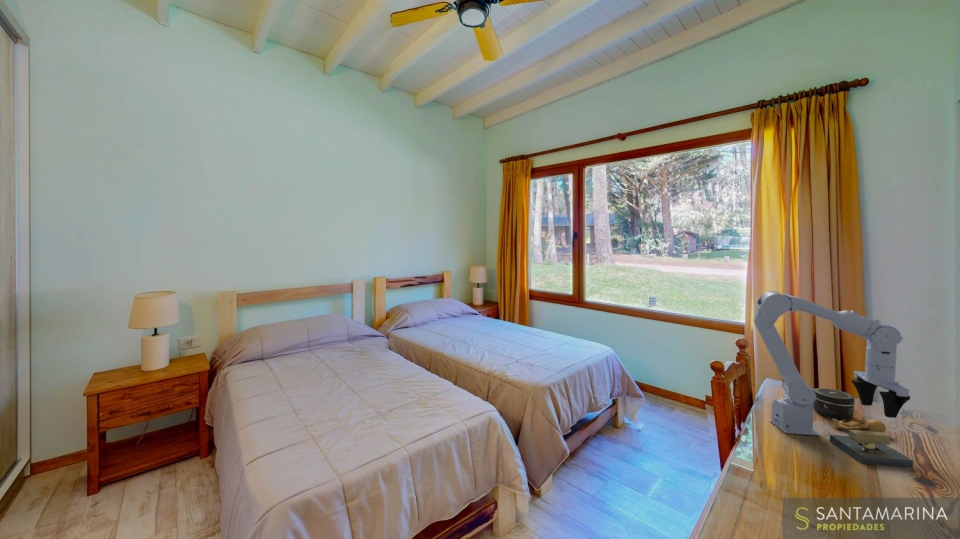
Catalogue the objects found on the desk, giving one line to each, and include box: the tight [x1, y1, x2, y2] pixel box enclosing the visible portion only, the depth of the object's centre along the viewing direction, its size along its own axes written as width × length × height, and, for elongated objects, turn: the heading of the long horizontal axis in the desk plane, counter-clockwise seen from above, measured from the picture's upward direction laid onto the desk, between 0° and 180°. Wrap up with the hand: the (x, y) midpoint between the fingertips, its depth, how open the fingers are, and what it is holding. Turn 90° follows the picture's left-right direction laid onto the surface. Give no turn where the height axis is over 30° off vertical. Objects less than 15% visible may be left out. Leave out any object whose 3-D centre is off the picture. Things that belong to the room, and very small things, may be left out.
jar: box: [812, 387, 856, 422], centre depth 119 cm, size 10×10×8 cm
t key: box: [848, 429, 891, 450], centre depth 96 cm, size 8×2×6 cm, turn 78°
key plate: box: [829, 434, 914, 469], centre depth 96 cm, size 11×11×2 cm
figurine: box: [831, 419, 887, 433], centre depth 108 cm, size 8×6×12 cm
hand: (878, 410), depth 100 cm, fingers open, 7 cm apart
